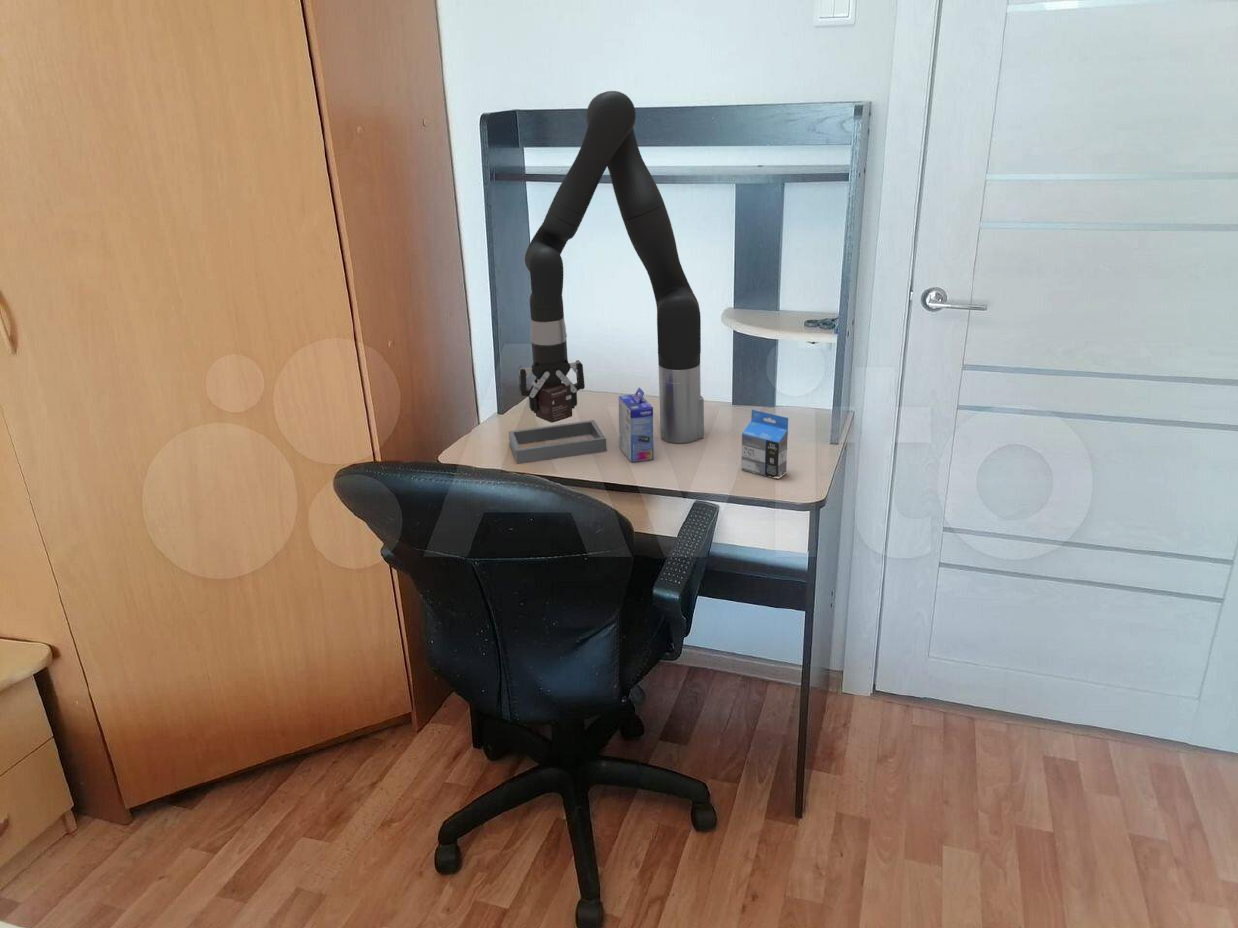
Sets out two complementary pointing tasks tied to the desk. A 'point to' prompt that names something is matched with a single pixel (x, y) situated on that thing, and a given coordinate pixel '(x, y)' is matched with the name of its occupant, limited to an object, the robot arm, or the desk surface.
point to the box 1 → (554, 402)
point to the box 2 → (561, 448)
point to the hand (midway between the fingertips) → (553, 409)
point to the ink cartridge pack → (765, 445)
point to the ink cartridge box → (636, 427)
